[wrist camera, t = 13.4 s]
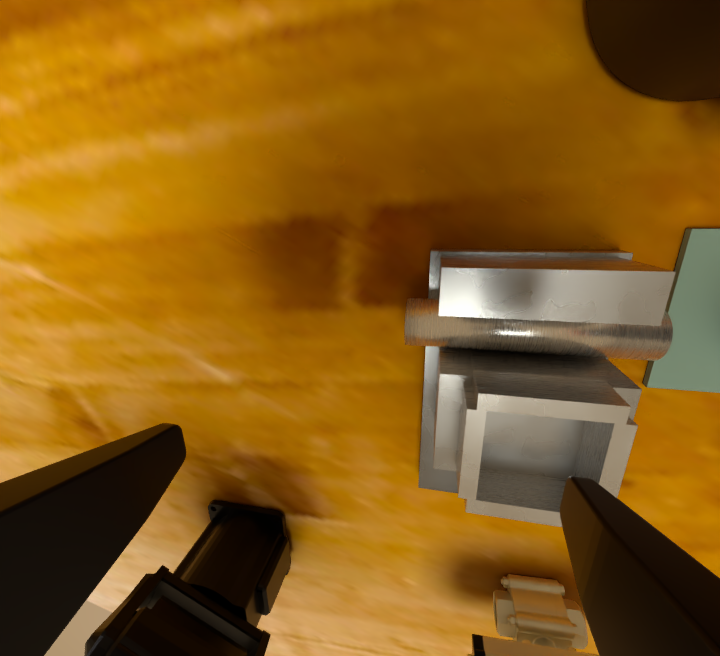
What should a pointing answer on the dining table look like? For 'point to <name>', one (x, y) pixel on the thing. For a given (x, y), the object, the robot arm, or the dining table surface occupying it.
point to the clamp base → (534, 314)
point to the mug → (660, 45)
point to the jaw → (530, 428)
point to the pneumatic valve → (533, 621)
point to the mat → (693, 318)
